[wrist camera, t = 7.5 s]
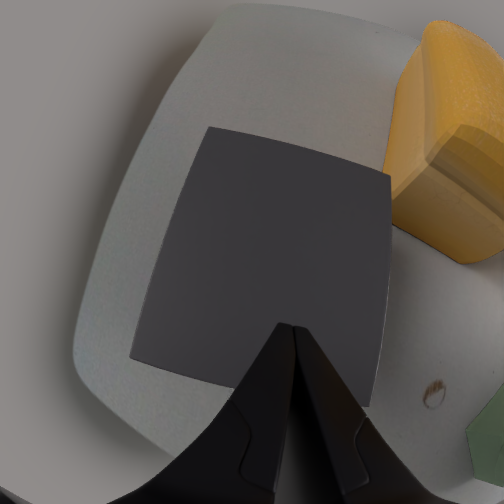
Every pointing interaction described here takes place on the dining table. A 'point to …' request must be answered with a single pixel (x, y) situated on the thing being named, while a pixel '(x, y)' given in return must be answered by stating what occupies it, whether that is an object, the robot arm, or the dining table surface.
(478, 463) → the control block
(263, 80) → the dining table surface
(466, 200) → the bread
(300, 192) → the fryer lid
